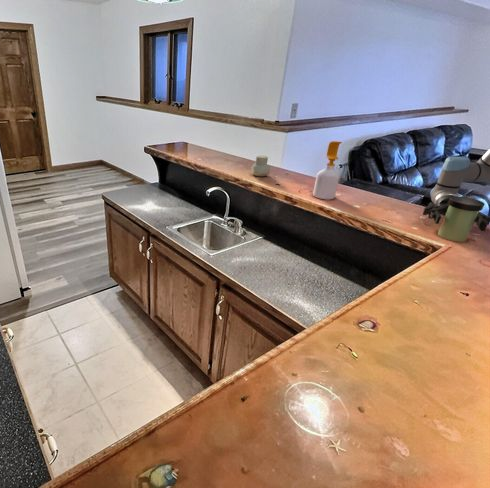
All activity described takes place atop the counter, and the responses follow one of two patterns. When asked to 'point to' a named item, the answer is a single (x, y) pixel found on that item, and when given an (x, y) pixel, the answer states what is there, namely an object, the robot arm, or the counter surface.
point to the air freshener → (260, 166)
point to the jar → (457, 224)
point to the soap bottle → (328, 175)
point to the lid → (466, 203)
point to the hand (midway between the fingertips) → (461, 223)
